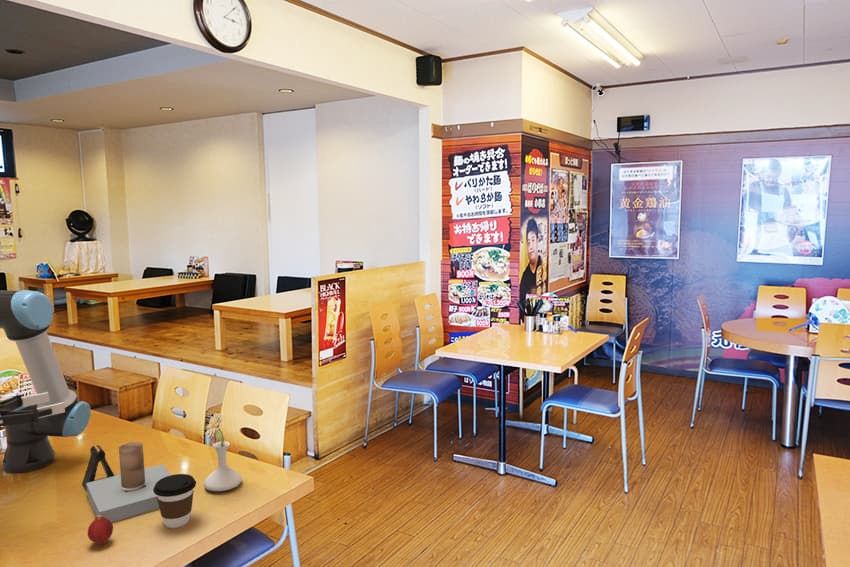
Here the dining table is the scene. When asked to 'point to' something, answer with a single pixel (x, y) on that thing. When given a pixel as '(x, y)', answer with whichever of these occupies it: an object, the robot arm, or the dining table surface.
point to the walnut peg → (132, 466)
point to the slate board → (125, 495)
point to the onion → (100, 530)
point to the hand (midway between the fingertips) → (56, 401)
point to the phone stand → (93, 464)
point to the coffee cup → (175, 499)
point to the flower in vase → (220, 461)
